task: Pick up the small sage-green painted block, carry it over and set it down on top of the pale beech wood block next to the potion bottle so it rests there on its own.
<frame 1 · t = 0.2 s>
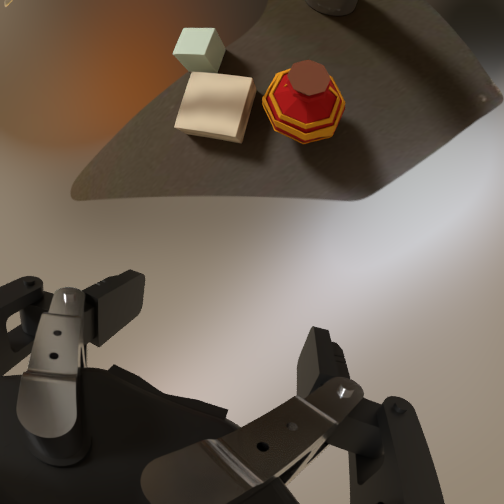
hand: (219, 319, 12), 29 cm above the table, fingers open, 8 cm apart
green block: (207, 60, 36), on the table
potion bottle: (302, 118, 36), on the table
beech base: (221, 111, 37), on the table
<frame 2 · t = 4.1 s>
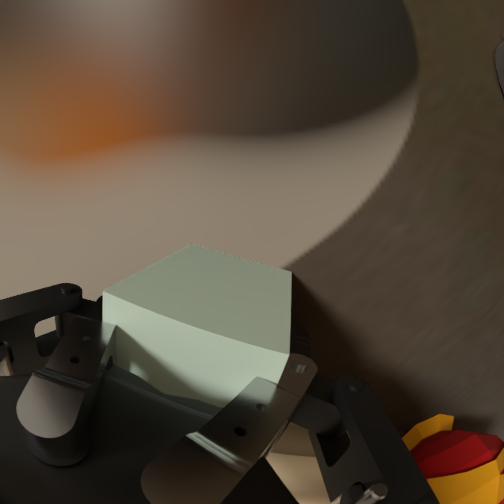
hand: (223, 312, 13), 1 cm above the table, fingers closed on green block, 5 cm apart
green block: (228, 304, 14), on the table, touching gripper
potion bottle: (424, 434, 14), on the table
beech base: (272, 434, 15), on the table
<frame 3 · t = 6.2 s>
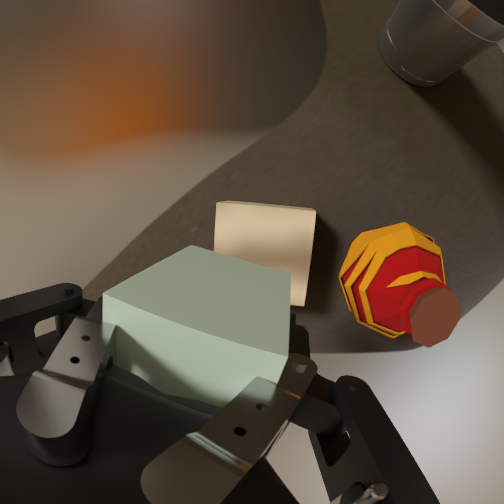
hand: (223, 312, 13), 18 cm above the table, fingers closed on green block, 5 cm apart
green block: (228, 305, 14), point 17 cm above the table, touching gripper
potion bottle: (373, 260, 28), on the table
beech base: (266, 245, 30), on the table
when the fingers open (7 cm above the table, at t = 8.5 s): green block drops 2 cm, resting on beech base.
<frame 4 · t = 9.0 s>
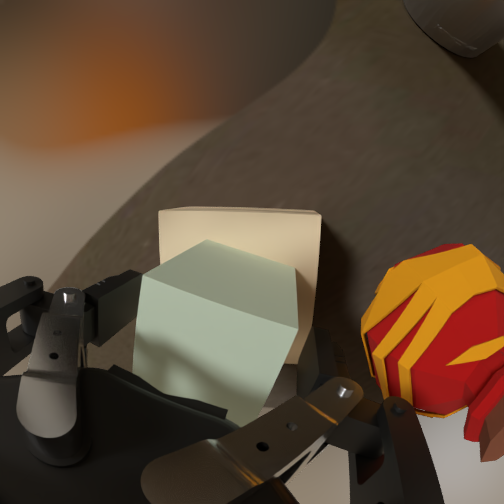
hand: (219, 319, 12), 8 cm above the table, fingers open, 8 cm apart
green block: (237, 294, 15), point 5 cm above the table, touching beech base
potion bottle: (403, 292, 19), on the table
beech base: (248, 269, 20), on the table, touching green block
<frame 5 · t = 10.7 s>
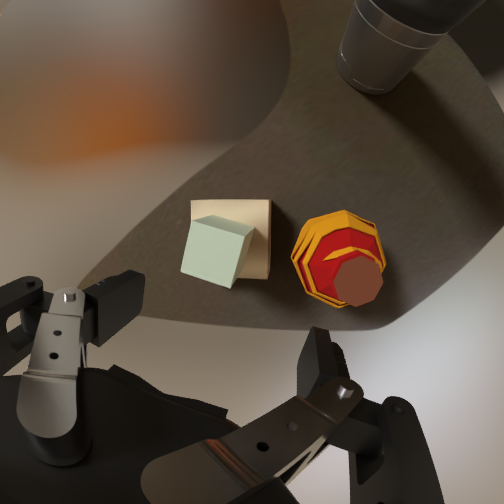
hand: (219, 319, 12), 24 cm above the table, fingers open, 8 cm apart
green block: (228, 241, 31), point 5 cm above the table, touching beech base
potion bottle: (330, 247, 35), on the table
beech base: (236, 233, 36), on the table, touching green block
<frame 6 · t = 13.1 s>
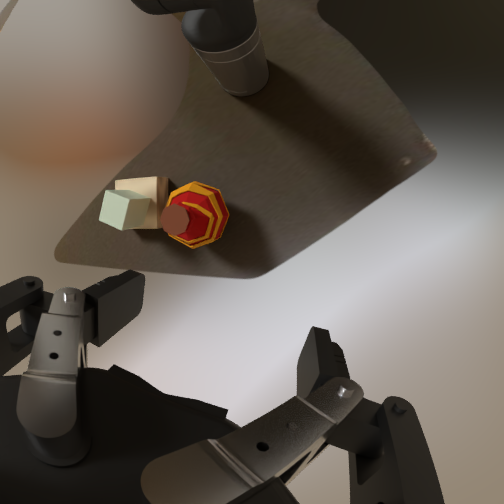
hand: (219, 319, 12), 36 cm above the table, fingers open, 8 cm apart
green block: (135, 207, 45), point 5 cm above the table, touching beech base
potion bottle: (208, 211, 48), on the table
beech base: (148, 202, 50), on the table, touching green block
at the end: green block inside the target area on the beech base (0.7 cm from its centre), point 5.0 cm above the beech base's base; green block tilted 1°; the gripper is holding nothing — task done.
